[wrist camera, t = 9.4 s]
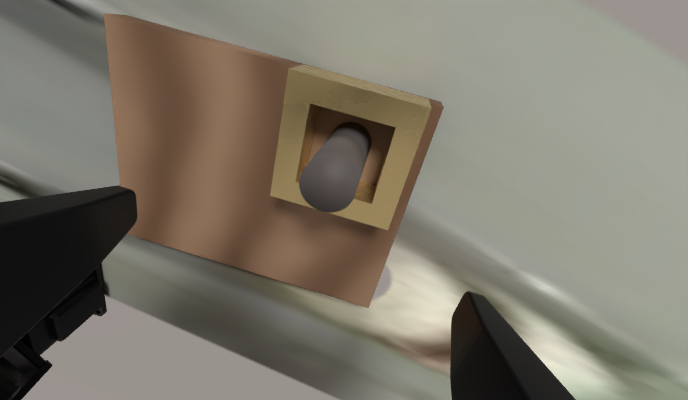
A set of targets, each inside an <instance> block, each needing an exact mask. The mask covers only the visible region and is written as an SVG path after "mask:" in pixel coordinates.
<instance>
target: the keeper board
mask: <svg viewBox="0 0 688 400" xmlns="http://www.w3.org/2000/svg"><path fill="white" fill-rule="evenodd" d="M104 21H105V31H106V41H107V52H108V62H109V72H110V83H111V93H112V103H113V113H114V124H115V134H116V144H117V155H118V165H119V175H120V186H122V187H125V188H128V189H131V190H133V191H134V192H135V194H136V201H137V214H138V217H137V221H136V223H135V225H134V226H133V227H132V228H131V229H130V231H129V232H128V233H127V234H129V235H132V236H135V237H139V238H142V239H145V240H148V241H152V242H155V243H158V244H162V245H165V246H168V247H171V248H175V249H178V250H181V251H184V252H188V253H191V254H194V255H197V256H201V257H204V258H207V259H210V260H214V261H217V262H220V263H224V264H227V265H230V266H233V267H237V268H240V269H243V270H246V271H250V272H253V273H256V274H259V275H263V276H266V277H269V278H273V279H276V280H279V281H282V282H286V283H289V284H292V285H295V286H299V287H302V288H305V289H308V290H312V291H315V292H318V293H321V294H325V295H328V296H331V297H335V298H338V299H341V300H344V301H348V302H351V303H354V304H357V305H361V306H364V307H367V308H369V305H370V303H371V300H372V297H373V295H374V292H375V289H376V287H377V284H378V281H379V279H380V276H381V273H382V270H383V268H384V265H385V263H386V260H387V257H388V255H389V252H390V249H391V246H392V244H393V241H394V238H395V236H396V233H397V230H398V228H399V225H400V222H401V220H402V217H403V214H404V212H405V209H406V206H407V204H408V201H409V198H410V196H411V193H412V190H413V188H414V185H415V182H416V180H417V177H418V174H419V172H420V169H421V166H422V164H423V161H424V158H425V156H426V153H427V150H428V148H429V145H430V142H431V140H432V137H433V134H434V132H435V129H436V126H437V124H438V121H439V118H440V116H441V113H442V110H443V105H442V103H441V102H439V101H436V100H432V99H429V102H430V105H431V108H432V109H431V111H430V114H429V117H428V120H427V123H426V125H425V128H424V131H423V134H422V137H421V139H420V142H419V145H418V148H417V151H416V153H415V156H414V159H413V162H412V165H411V167H410V170H409V173H408V176H407V179H406V181H405V184H404V187H403V190H402V193H401V195H400V198H399V201H398V204H397V207H396V209H395V212H394V215H393V218H392V221H391V223H390V226H389V229H388V230H385V229H382V228H378V227H375V226H371V225H368V224H365V223H361V222H358V221H354V220H351V219H348V218H344V217H341V216H337V215H334V214H331V213H332V212H338V211H341V210H343V209H345V208H346V207H348V206H349V205H350V204H351V202H352V201H353V199H354V196H355V194H356V191H357V187H358V184H359V181H363V182H367V183H370V184H374V185H376V183H377V180H378V176H379V173H380V170H381V167H382V164H383V160H384V157H385V154H386V151H387V148H388V144H389V141H390V138H391V135H392V131H393V128H394V127H392V126H389V125H385V124H382V123H378V122H375V121H371V120H367V119H364V118H360V117H357V116H353V115H350V114H346V113H343V112H339V111H335V110H332V109H328V108H325V107H321V106H320V108H319V113H318V118H317V123H316V128H315V133H314V138H313V143H312V148H311V153H310V158H309V163H308V164H307V165H306V167H305V168H304V169H303V171H302V173H301V175H300V178H299V188H300V192H301V194H302V196H303V198H304V199H305V201H306V202H307V203H308V204H309V205H310V206H312V207H313V208H310V207H307V206H304V205H300V204H297V203H293V202H290V201H287V200H283V199H280V198H276V197H273V196H270V193H271V186H272V179H273V172H274V165H275V158H276V151H277V145H278V138H279V131H280V124H281V117H282V110H283V103H284V96H285V89H286V83H287V76H288V69H289V68H292V67H296V66H300V65H305V64H301V63H297V62H294V61H290V60H287V59H283V58H279V57H276V56H272V55H268V54H265V53H261V52H258V51H254V50H250V49H247V48H243V47H239V46H236V45H232V44H228V43H225V42H221V41H218V40H214V39H210V38H207V37H203V36H199V35H196V34H192V33H188V32H185V31H181V30H178V29H174V28H170V27H167V26H163V25H159V24H156V23H152V22H149V21H145V20H141V19H138V18H134V17H130V16H127V15H116V14H104ZM307 66H308V65H307ZM311 67H312V66H311ZM315 68H316V67H315ZM318 69H319V68H318ZM322 70H323V69H322ZM326 71H327V70H326ZM329 72H330V71H329ZM333 73H334V72H333ZM340 75H341V74H340ZM344 76H345V75H344ZM347 77H348V76H347ZM351 78H352V77H351ZM355 79H356V78H355ZM358 80H359V79H358ZM362 81H363V80H362ZM366 82H367V81H366ZM369 83H370V82H369ZM373 84H374V83H373ZM376 85H377V84H376ZM380 86H381V85H380ZM384 87H385V86H384ZM387 88H388V87H387ZM391 89H392V88H391ZM395 90H396V89H395ZM398 91H399V90H398ZM402 92H403V91H402ZM409 94H410V93H409ZM413 95H414V94H413ZM416 96H417V95H416ZM420 97H421V96H420ZM424 98H425V97H424ZM427 99H428V98H427ZM314 208H315V209H314ZM327 212H328V213H327Z"/></svg>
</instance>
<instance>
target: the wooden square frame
mask: <svg viewBox="0 0 688 400" xmlns="http://www.w3.org/2000/svg"><path fill="white" fill-rule="evenodd" d="M320 106H321V107H325V108H328V109H332V110H335V111H339V112H343V113H346V114H350V115H353V116H357V117H360V118H364V119H367V120H371V121H375V122H378V123H382V124H385V125H389V126H392V127H394V128H393V131H392V135H391V138H390V141H389V144H388V148H387V151H386V154H385V157H384V160H383V164H382V167H381V170H380V173H379V176H378V180H377V183H376V185H374V184H370V183H367V182H363V181H359V184H358V187H357V191H356V194H355V196H354V199H353V201H352V202H351V204H350V205H349V206H348V207H346V208H345V209H343V210H341V211H338V212H332V213H331V214H334V215H337V216H341V217H344V218H348V219H351V220H354V221H358V222H361V223H365V224H368V225H371V226H375V227H378V228H382V229H385V230H388V229H389V226H390V223H391V221H392V218H393V215H394V212H395V209H396V207H397V204H398V201H399V198H400V195H401V193H402V190H403V187H404V184H405V181H406V179H407V176H408V173H409V170H410V167H411V165H412V162H413V159H414V156H415V153H416V151H417V148H418V145H419V142H420V139H421V137H422V134H423V131H424V128H425V125H426V123H427V120H428V117H429V114H430V111H431V109H432V108H431V105H430V102H429V99H427V98H424V97H420V96H416V95H413V94H409V93H406V92H402V91H398V90H395V89H391V88H387V87H384V86H380V85H376V84H373V83H369V82H366V81H362V80H358V79H355V78H351V77H347V76H344V75H340V74H337V73H333V72H329V71H326V70H322V69H318V68H315V67H311V66H307V65H300V66H296V67H292V68H289V69H288V76H287V83H286V89H285V96H284V103H283V110H282V117H281V124H280V131H279V138H278V145H277V151H276V158H275V165H274V172H273V179H272V186H271V193H270V196H273V197H276V198H280V199H283V200H287V201H290V202H293V203H297V204H300V205H304V206H307V207H310V208H313V207H312V206H310V205H309V204H308V203H307V202H306V201H305V199H304V198H303V196H302V194H301V192H300V188H299V178H300V175H301V173H302V171H303V169H304V168H305V167H306V165H307V164H308V163H309V158H310V153H311V148H312V143H313V138H314V133H315V128H316V123H317V118H318V113H319V108H320ZM314 209H315V208H314ZM327 213H328V212H327Z"/></svg>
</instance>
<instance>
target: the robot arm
mask: <svg viewBox="0 0 688 400" xmlns="http://www.w3.org/2000/svg"><path fill="white" fill-rule="evenodd" d="M137 217H138V214H137V201H136V194H135V192H134V191H133V190H131V189H128V188H125V187H122V186H112V187H105V188H98V189H91V190H84V191H77V192H70V193H63V194H56V195H49V196H42V197H35V198H28V199H21V200H14V201H7V202H0V400H21V399H22V398H23V397H24V396H25V395H26V394H27V393H28V391H30V389H31V388H32V387H33V386H34V385H35V384H36V383H37V382H38V381H39V380H40V378H41V377H42V376H43V375H44V374H45V373H46V372H47V371H48V370H49V369H50V368H51V367H52V364H51V363H50V362H49V361H48V360H46V361H45V360H44V359H43V358H42V357H41V356H40V355H41V354H42V353H43V352H44V351H45V350H47V349H48V348H49V347H50V346H51V345H52V344H54V343H55V342H56V341H63V340H64V339H66V338H67V337H68V336H69V335H70V334H71V333H72V332H73V331H75V329H77V328H78V327H79V326H80V325H82V324H83V323H84V322H85V321H86V320H87V319H88V318H89V317H91V316H92V315H93V314H94V315H98V316H102V315H103V314H105V313H106V311H107V310H106V302H105V296H104V289H103V282H102V276H101V269H100V263H101V262H102V261H103V260H104V259H105V258H106V257H107V255H108V254H109V253H110V252H111V251H112V250H113V249H114V248H115V246H116V245H117V244H118V243H119V242H120V241H121V240H122V238H123V237H124V236H125V235H126V234H127V233H128V232H129V231H130V229H131V228H132V227H133V226H134V225H135V223H136V221H137ZM450 379H451V393H452V400H576V399H575V398H574V397H573V396H572V395H571V394H570V393H569V392H568V390H567V389H566V388H565V387H564V386H563V385H562V384H561V383H560V381H559V380H558V379H557V378H556V377H555V376H554V375H553V373H552V372H551V371H550V370H549V369H548V368H547V367H546V366H545V364H544V363H543V362H542V361H541V360H540V359H539V358H538V357H537V355H536V354H535V353H534V352H533V351H532V350H531V349H530V347H529V346H528V345H527V344H526V343H525V342H524V341H523V340H522V338H521V337H520V336H519V335H518V334H517V333H516V332H515V331H514V329H513V328H512V327H511V326H510V325H509V324H508V323H507V321H506V320H505V319H504V318H503V317H502V316H501V315H500V314H499V312H498V311H497V310H496V309H495V308H494V307H493V306H492V304H491V303H490V302H489V301H488V300H487V299H486V298H485V297H484V296H483V295H480V294H477V293H474V292H470V291H468V292H466V293H465V294H464V295H463V297H462V299H461V300H460V302H459V304H458V306H457V308H456V310H455V311H454V313H453V316H452V322H451V367H450Z"/></svg>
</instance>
